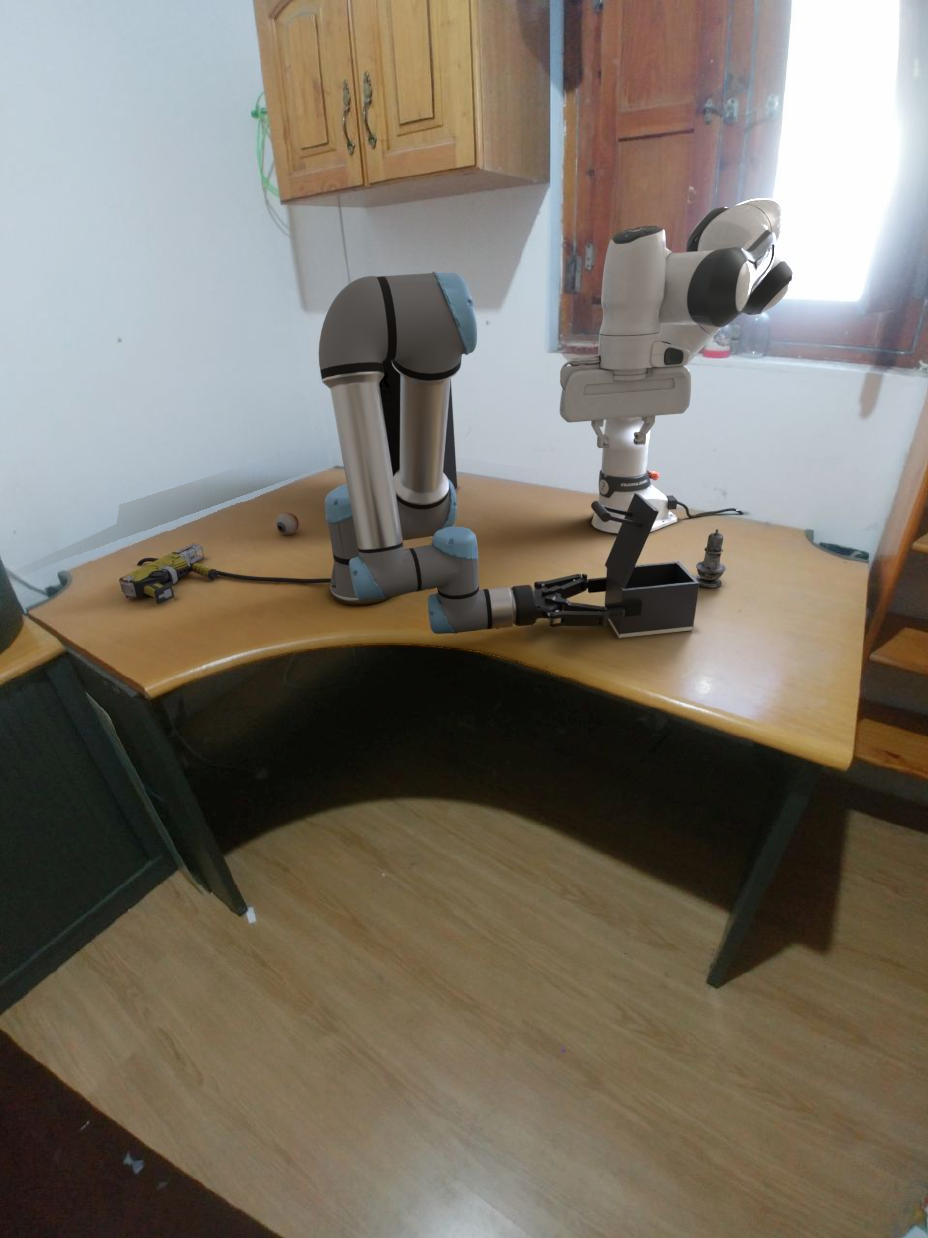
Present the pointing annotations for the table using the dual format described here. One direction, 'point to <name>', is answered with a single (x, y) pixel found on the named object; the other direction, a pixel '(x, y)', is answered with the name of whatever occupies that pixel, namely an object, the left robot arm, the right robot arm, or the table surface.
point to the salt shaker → (711, 562)
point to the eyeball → (287, 523)
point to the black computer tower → (392, 422)
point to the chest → (655, 599)
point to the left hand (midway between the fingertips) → (630, 594)
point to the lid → (627, 535)
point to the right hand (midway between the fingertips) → (621, 445)
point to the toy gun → (164, 574)
